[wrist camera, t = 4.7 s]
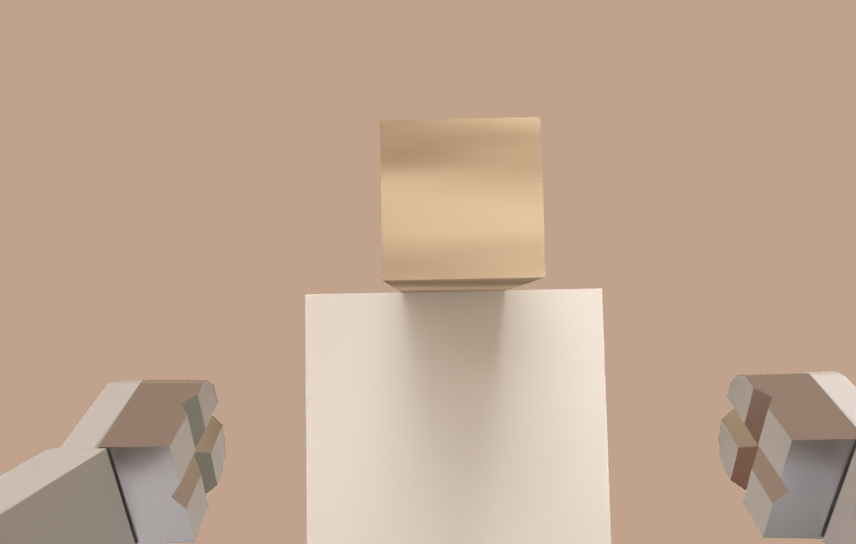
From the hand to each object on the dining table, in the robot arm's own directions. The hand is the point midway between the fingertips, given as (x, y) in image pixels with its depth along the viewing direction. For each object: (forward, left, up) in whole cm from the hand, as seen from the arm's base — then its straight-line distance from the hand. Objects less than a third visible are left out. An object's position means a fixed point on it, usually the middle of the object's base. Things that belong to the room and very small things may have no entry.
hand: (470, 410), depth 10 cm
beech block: (-7, +12, +2) cm, 15 cm away
